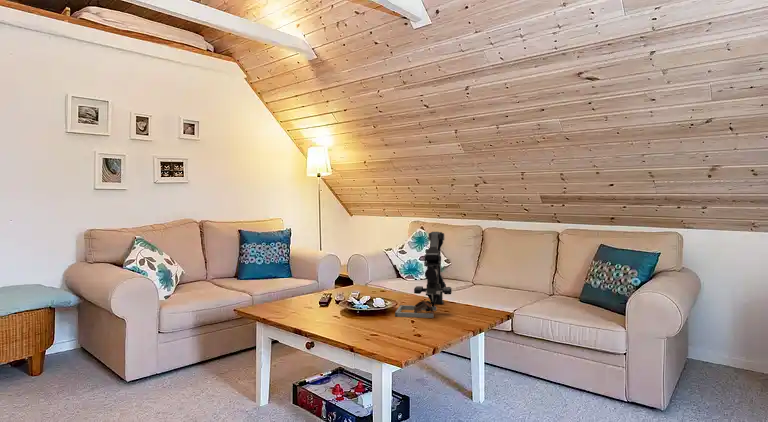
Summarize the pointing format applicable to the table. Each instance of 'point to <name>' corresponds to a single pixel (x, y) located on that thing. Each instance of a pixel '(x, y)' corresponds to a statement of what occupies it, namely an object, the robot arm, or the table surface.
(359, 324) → the table surface
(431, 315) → the grey u-shaped frame
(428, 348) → the table surface
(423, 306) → the brown arched figure
